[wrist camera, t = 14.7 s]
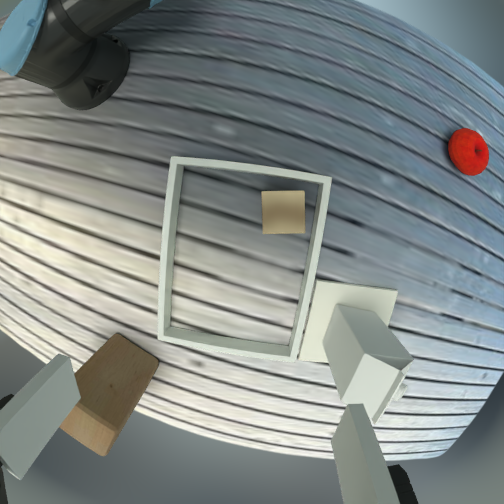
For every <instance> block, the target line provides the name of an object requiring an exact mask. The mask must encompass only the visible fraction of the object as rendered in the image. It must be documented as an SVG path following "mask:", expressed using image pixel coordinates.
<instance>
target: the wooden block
mask: <svg viewBox="0 0 504 504" xmlns="http://www.w3.org/2000/svg"><path fill="white" fill-rule="evenodd" d="M158 362H159V361H158V360H157V358H155V357H153V356H152V355H150V354H149V353H147V352H145V351H144V350H142V349H141V348H139V347H138V346H136V345H135V344H133V343H132V342H130V341H129V340H127V339H126V338H124V337H123V336H121V335H120V334H114V335H113V336H112V337H111V338H110V339H109V340H108V341H107V342H106V343H105V344H104V345H103V346H102V347H101V348H100V349H99V350H98V351H97V352H96V353H95V354H94V355H93V356H92V357H91V358H90V359H89V360H88V361H87V362H86V363H85V364H84V365H83V366H82V367H81V368H80V369H79V370H78V371H77V372H76V373H75V374H74V376H75V379H76V383H77V386H78V390H79V393H80V396H81V399H80V400H79V401H78V402H77V404H76V405H75V406H74V408H73V409H72V410H71V412H70V413H69V414H68V415H67V417H66V418H65V419H64V421H63V422H62V423H61V425H60V426H59V427H60V428H61V429H62V430H64V431H65V432H67V433H68V434H69V435H71V436H72V437H73V438H75V439H76V440H78V441H79V442H80V443H82V444H83V445H85V446H86V447H88V448H90V449H91V450H92V451H94V452H96V453H97V454H99V455H101V456H105V455H107V454H108V453H109V451H110V449H111V448H112V446H113V444H114V442H115V441H116V439H117V437H118V436H119V434H120V432H121V430H122V429H123V427H124V425H125V424H126V422H127V420H128V418H129V417H130V415H131V413H132V412H133V410H134V408H135V407H136V405H137V403H138V402H139V400H140V398H141V397H142V395H143V393H144V392H145V390H146V388H147V386H148V384H149V382H150V380H151V379H152V377H153V375H154V373H155V371H156V369H157V367H158Z"/></svg>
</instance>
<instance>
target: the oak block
mask: <svg viewBox="0 0 504 504" xmlns="http://www.w3.org/2000/svg"><path fill="white" fill-rule="evenodd" d="M262 221H263V234H284V233H305V192H304V191H262Z"/></svg>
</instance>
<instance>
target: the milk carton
mask: <svg viewBox="0 0 504 504" xmlns="http://www.w3.org/2000/svg"><path fill="white" fill-rule="evenodd" d="M322 344H323V347H324V350H325V353H326V356H327V359H328V362H329V365H330V368H331V371H332V374H333V377H334V381H335V384H336V387H337V390H338V393H339V396H340V399H341V402H342V403H344V404H346V405H348V404H361V403H363V404H364V407H365V409H366V412H367V414H368V417H369V418H371V419H372V421H373V423H374V425H376V424H377V422H378V421H379V419H380V418H381V416H382V415H383V413H384V412H385V410H386V408H387V407H388V405H389V404H390V402H391V401H392V399H393V400H395V401H399V400H400V398H401V397H402V396H403V394H404V393H405V391H406V389H407V385H405V384H403V383H402V381H403V380H404V378H405V376H406V374H407V372H408V370H409V368H410V366H411V364H412V362H413V360H414V359H413V358H412V356H411V355H410V354H409V352H408V351H407V350H406V349H405V347H404V346H403V345H402V344H401V343H400V341H399V340H398V339H397V338H396V336H395V335H394V334H393V333H392V332H391V330H390V329H389V328H388V327H387V326H386V324H385V323H384V322H383V321H382V320H381V319H380V317H379V316H378V315H377V314H376V313H375V312H371V311H366V310H362V309H357V308H352V307H347V306H342V305H338V304H336V306H335V308H334V311H333V314H332V317H331V320H330V322H329V325H328V328H327V331H326V333H325V336H324V339H323V341H322Z"/></svg>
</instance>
